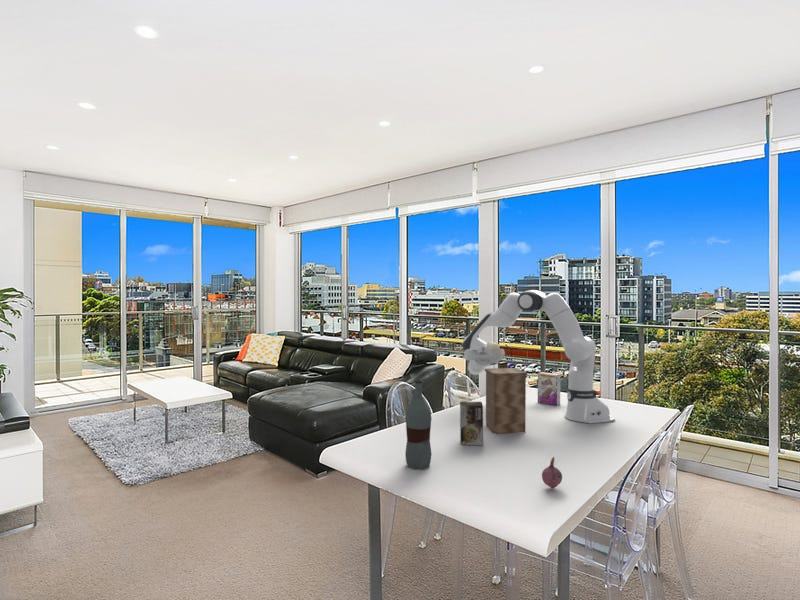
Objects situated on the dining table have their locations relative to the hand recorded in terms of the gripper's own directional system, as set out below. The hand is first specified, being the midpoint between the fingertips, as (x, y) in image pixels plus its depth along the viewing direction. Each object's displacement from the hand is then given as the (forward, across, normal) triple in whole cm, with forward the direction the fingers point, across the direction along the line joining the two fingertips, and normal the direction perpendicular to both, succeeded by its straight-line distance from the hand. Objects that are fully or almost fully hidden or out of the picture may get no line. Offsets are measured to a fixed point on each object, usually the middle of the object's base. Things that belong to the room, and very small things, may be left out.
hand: (488, 348), depth 233 cm
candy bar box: (-33, +40, +19) cm, 55 cm away
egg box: (+3, 0, +4) cm, 5 cm away
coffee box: (+20, -20, +50) cm, 57 cm away
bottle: (+39, -45, +61) cm, 85 cm away
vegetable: (+60, -7, +73) cm, 94 cm away
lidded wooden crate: (+5, 0, +41) cm, 42 cm away
